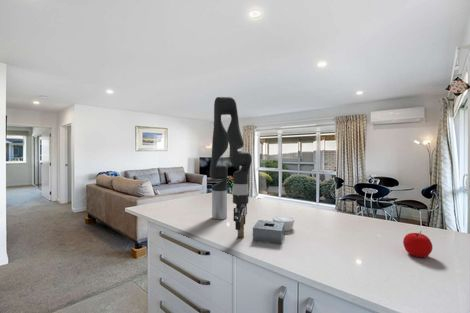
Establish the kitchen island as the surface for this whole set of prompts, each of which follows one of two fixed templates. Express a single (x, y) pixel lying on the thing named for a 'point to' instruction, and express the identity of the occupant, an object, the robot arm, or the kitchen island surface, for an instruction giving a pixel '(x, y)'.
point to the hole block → (268, 231)
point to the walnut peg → (241, 228)
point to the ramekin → (285, 222)
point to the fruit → (417, 244)
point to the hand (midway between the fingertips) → (240, 227)
